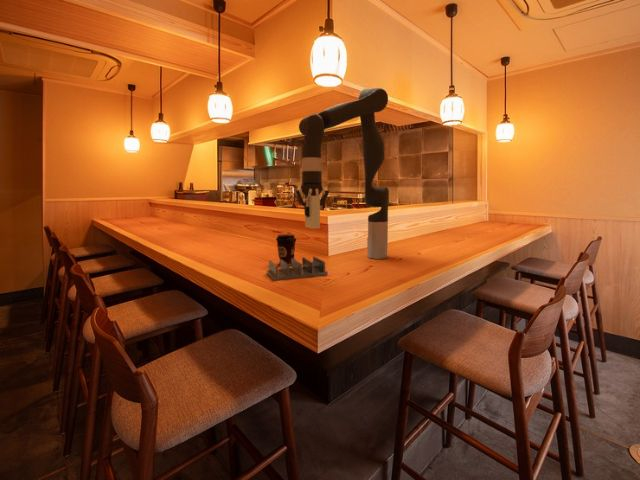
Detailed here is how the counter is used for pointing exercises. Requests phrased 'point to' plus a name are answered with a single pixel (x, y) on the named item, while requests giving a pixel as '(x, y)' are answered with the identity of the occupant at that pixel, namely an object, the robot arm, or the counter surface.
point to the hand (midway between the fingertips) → (312, 216)
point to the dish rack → (297, 269)
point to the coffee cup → (286, 247)
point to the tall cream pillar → (313, 213)
